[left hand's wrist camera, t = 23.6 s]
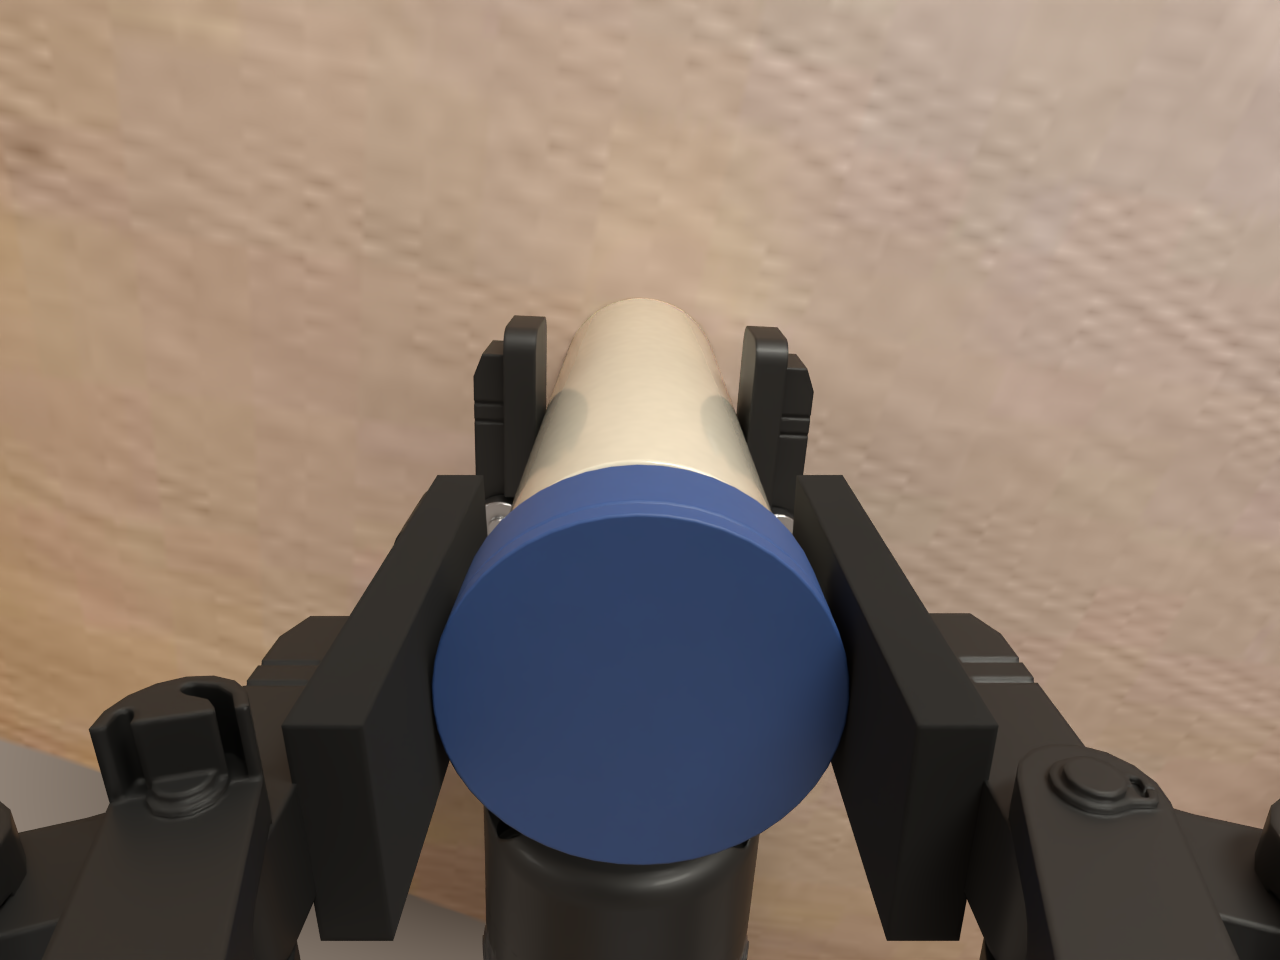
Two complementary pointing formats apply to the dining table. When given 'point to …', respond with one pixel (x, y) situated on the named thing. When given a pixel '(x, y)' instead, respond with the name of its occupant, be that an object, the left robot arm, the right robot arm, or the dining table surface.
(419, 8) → the dining table surface
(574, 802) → the lid
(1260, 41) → the dining table surface
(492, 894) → the right robot arm
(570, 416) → the cream bottle
